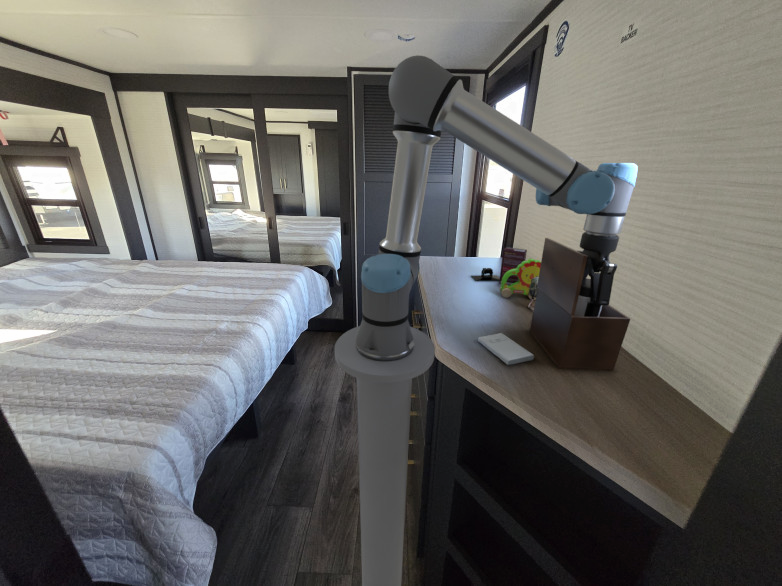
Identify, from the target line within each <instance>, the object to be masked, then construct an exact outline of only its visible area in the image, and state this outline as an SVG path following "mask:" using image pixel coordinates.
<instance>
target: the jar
mask: <svg viewBox="0 0 782 586" xmlns="http://www.w3.org/2000/svg"><path fill="white" fill-rule="evenodd" d="M590 284H591V278H586V279H582V284H581V288H580V293H579V297H578V302H577V306H576V311H575V315H573V316H584V314H585V311H586V307H587V302H590V293H591V290H592V288H591V287H590ZM595 300H596V299H595ZM601 308H602V306H601V307H600V311H599V314H598V317H599V316H600V312H601Z"/></svg>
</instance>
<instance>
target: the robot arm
mask: <svg viewBox="0 0 782 586" xmlns="http://www.w3.org/2000/svg"><path fill="white" fill-rule="evenodd" d="M388 99H389V102H390V105H391V107H392V109H393V111H394V119H393V126H392V134H393V136H394V137H395V139H396V141H397V145H396V155H395V162H394V169H393V177H392V184H391V185H392V186H391V193H390V201H389V210H388V218H387V225H386V232H385V233H386V234H385V238H383V239H382V240H381V241H379V245H378V254H376V255H372V256H370V257H368V258H366V259H365V261H364V262H363V263H362V265H361V273H360V279H361V303H362V304H361V305H362V306H361V310H362V311H361V312H362V320H361V322H360V325H359V326H360V328H359V331H358V334H357V337H356V349H357V351H358V352H359V353H360V354H361V355H362V356H364V357H366V358H368V359H371V360H375V361H395V360H399V359H402V358H405V357H407V356H408V355H409V354H411V352H412V351H413V349H414V345H415V344H414V338H413V334H412V331H411V328H410V327H411V325H410V322H409V308H410V307H409V306H410V303H409V302H410V293H411V290H412V288H413V286H414V284H415V282H416V280H417V278H418V276H419V274H420V268H421V267H420V260H421V259H420V258H421V252H422V247H421V246H420V244H419V243H418V237H419V232H420V231H419V230H420V224H421V220H422V219H421V218H422V213H423V206H424V201H425V194H426V189H427V182H428V176H429V171H430V164H431V160H432V159H431V158H432V152H433V147H434V145H435V144H437V143H438V142H439V141H440V140H441V135H442V131H444V132H445V133H447V134H449V135H450V136H452V137H453V138H455V139H457V140H458V141H460V142H461V143H463V144H464V145H466V146H468V147H469V148H471V149H472V150H474V151H476V152H478V153H479V154H481V155H482V156H484V157H485V158H487V159H489V160H490V161H492V162H493V163H494V164H497V165H498V166H500V167H501V168H503V169H504V170H506V171H508V172H509V173H511V174H513V175H514V176H516V177H518V178H519V179H520V180H522V181H523V182H525V183H527V184H529V185H530V186H531V187H534V188H535V202H536V204H537V205H538V206H547V207H559V208H563V209H567V210H568V211H569V210H570V211H572V212H574V214H578V215H586V216H585V221H584V224H583V228H582V229H583V231H584V232H583V233H582V235H581V237H580V242H579V248H580V249H582V250H577V251H578V252H580V253H582V254H584V255H587V261H586V265H585V270H584V275H583V279H586V278H587V277H588V276H589V278H590V279H591V284H590V287H591V288H592V290H591V293H590V302H587V307H586V311H585V314H584V316H586V317H598V314H599V311H600V307H601V306H602V305H610V300H611V296H612V289H613V282H614V276H615V273H616V271H617V269H618V263H611V262H610V254H612V253H614V252H615V251H616V250H617V247H618V244H619V240H620V237H619V235H620V234H621V233H622V228H623V225H624V221H625V218H626V215H627V212H628V207H629V206H630V205H629V204H630V201H631V197H632V195H633V191H634V188H635V187H636V181H637V176H638V169H639V167H638V164H636V163H633V162H603V163H600V164H599V165H598V167H597V169H596V170H593V169H591V168H590V167H588V166H586V165H584V164H583V163H581V162H579V161H577V160H576V159H575V158H573V157H571V156H570V155H568V154H567V153H565V152H563V151H562V150H560V149H559V148H557V147H556V146H554V145H553V144H551V143H550V142H548V141H546V140H545V139H543V138H542V137H540V136H539V135H537V134H535V133H534V132H532V131H531V130H529V129H528V128H526V127H524V126H522V125H521V124H520V123H518V122H516V121H514V120H513V119H512V118H510V117H509V116H507V115H505V114H504V113H502V112H501V111H499V110H497V109H496V108H494V107H492V106H491V105H489V104H488V103H486V102H485V101H483V100H482V99H480V98H478V97H477V96H475V95H473V94H472V93H470V92H469V91H467V90H465V88H464V84H463V80H462V79H460V77H457V76H456V75H454V74H452V72H450V71H448V70H447V69H446V68H445V67H443V66H442V65H440V64H439V63H437V62H436V61H434V60H433V59H432V58H430V57H427V56H425V55H418V54H417V55H412V56H409V57H407V58H405V59H403V60H402V61H401V62H399V63H398V64H397V66H395V68H394V70H393V71H392V73H391V75H390V79H389V82H388ZM587 279H588V278H587ZM595 299H596V300H595Z"/></svg>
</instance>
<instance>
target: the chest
mask: <svg viewBox="0 0 782 586" xmlns="http://www.w3.org/2000/svg"><path fill="white" fill-rule="evenodd" d="M534 301H535V302H534V304H535V306H534V311H532V316H531V321H530V327H529V334H531V336H533V338H534V339H535V340H536V341H537V343H538V344H539V345H540V347H541V348H542V349H543V350H544V352H545V353H546V354H547V355H548V357H549V358H550V359H551V361H552V362H554V364H555V365H556V366H557V368H558V369H561V370H562V369H563V370H591V371H614V370H615V367H616V363H617V361H618V358H619V355H620V352H621V349H622V346H623V343H624V340H625V337H626V333H627V330H628V327H629V325H630V321H631V318H630V317H629V316H627V315H626V314H623V312H621V311H619V310H618V309H616V308H615V307H613V306H611V305H610V304H609V305H602V308H601V312H600V316H599V317H586V316H573V315H570V314H569V313H568V312H567V311H566V310H564V309H563V308H562V307H561V306H560V305H559V304H557V303H556V302H555V301H554V300H553V299H551V298H550V297H549V296H548V295H547V294H546V293H544V292H543V291H542V290H541V289H540V288H538V292H537V297H536V300H534Z"/></svg>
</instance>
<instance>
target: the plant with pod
mask: <svg viewBox="0 0 782 586" xmlns="http://www.w3.org/2000/svg"><path fill="white" fill-rule="evenodd" d="M531 277H532V276H531ZM538 278H539V277H535V278H532V280H531V284H530V288H529V295H530V296H531V297H532V300H531V299H530V300H529V303H528V306H527V308H529V310H530V311H532V312H533V311H534V306H535V303H533V301H535V300H534V297H535V298H536V297H537V292H538V288H539V287H537V284H538Z"/></svg>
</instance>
